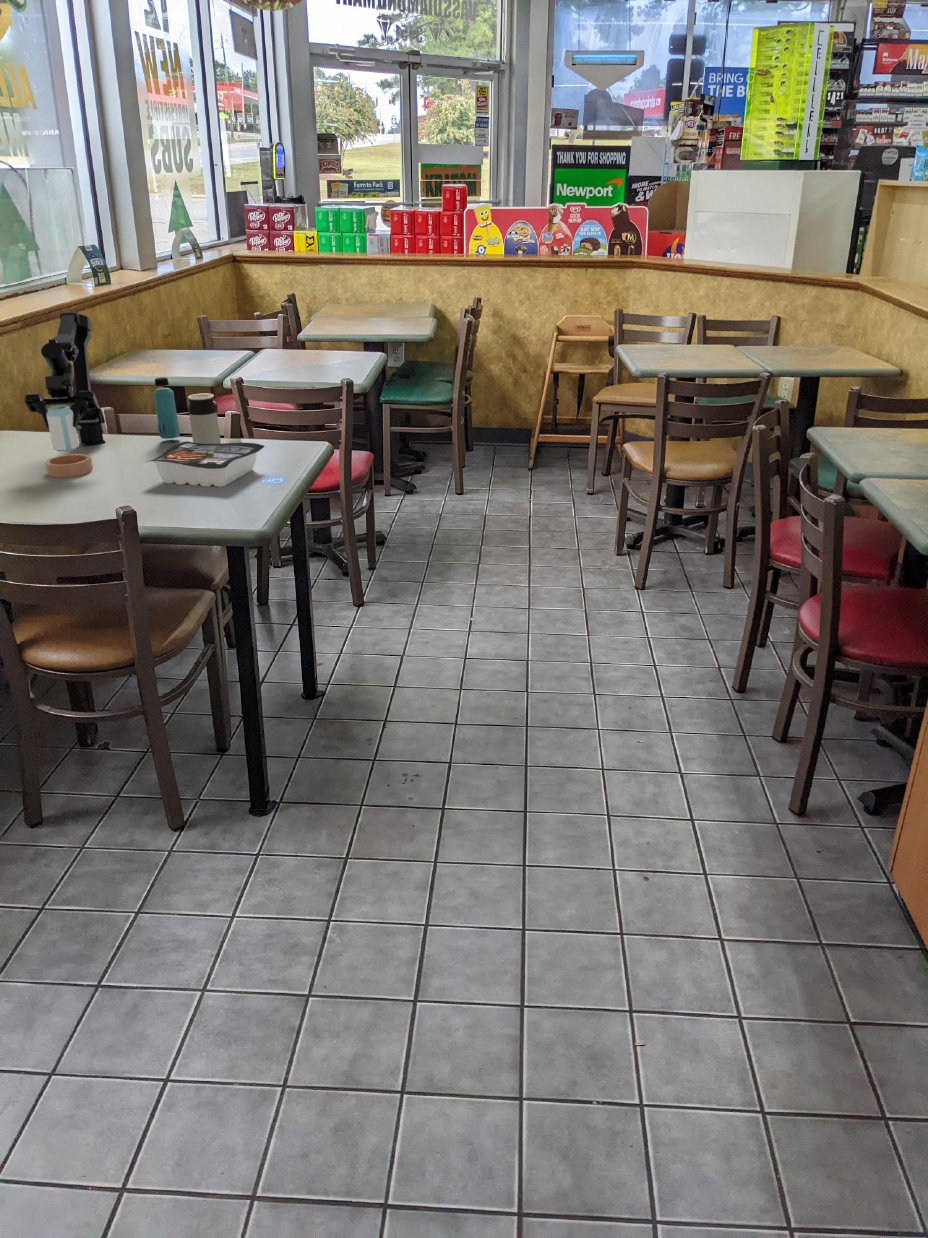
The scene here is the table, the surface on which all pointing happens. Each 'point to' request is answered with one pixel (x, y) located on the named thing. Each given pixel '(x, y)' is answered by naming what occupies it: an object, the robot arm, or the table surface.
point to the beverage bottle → (166, 410)
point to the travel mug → (204, 419)
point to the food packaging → (206, 463)
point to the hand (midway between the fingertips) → (61, 427)
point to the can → (62, 428)
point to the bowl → (69, 465)
